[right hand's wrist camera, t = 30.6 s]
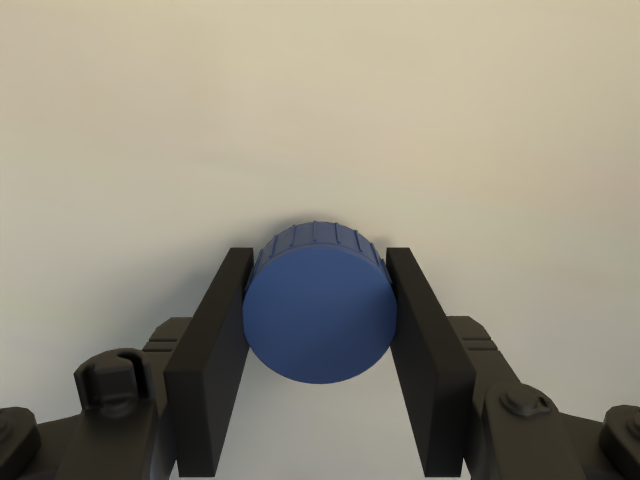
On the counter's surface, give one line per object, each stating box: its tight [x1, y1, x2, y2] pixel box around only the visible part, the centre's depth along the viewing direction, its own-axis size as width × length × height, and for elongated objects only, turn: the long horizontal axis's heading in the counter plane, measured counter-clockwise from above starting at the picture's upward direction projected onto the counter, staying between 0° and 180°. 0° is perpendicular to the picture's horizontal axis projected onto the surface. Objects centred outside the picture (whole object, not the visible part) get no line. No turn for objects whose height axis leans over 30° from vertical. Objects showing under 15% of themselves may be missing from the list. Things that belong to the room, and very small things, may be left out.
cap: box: [242, 221, 397, 384], centre depth 13 cm, size 5×5×2 cm
